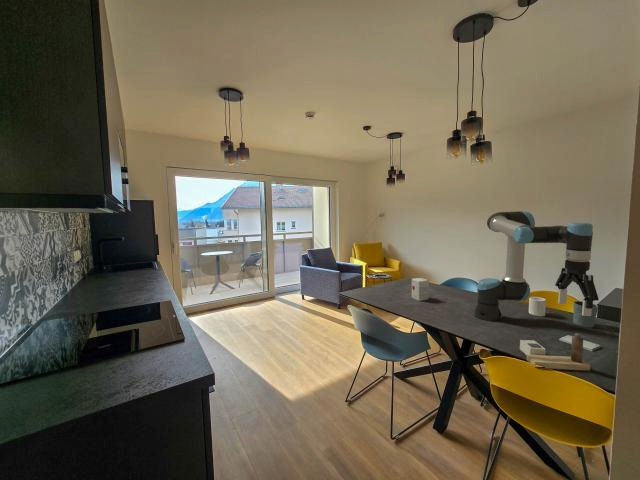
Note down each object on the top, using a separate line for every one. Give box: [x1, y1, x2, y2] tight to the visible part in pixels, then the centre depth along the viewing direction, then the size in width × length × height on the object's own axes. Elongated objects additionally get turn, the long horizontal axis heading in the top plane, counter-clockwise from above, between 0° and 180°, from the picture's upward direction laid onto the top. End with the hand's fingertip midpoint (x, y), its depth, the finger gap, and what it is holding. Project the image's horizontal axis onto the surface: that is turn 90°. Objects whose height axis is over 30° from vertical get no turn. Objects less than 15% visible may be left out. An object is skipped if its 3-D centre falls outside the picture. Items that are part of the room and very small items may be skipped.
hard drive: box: [559, 334, 602, 352], centre depth 132 cm, size 2×8×12 cm
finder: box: [519, 339, 546, 356], centre depth 123 cm, size 8×6×5 cm
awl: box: [570, 332, 584, 363], centre depth 113 cm, size 3×3×12 cm
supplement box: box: [411, 277, 430, 302], centre depth 206 cm, size 9×9×15 cm
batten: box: [526, 354, 591, 372], centre depth 115 cm, size 6×20×2 cm, turn 81°
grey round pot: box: [572, 300, 599, 328], centre depth 152 cm, size 10×10×12 cm
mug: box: [528, 296, 547, 317], centre depth 170 cm, size 8×12×10 cm
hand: (573, 309), depth 115 cm, fingers open, 13 cm apart
